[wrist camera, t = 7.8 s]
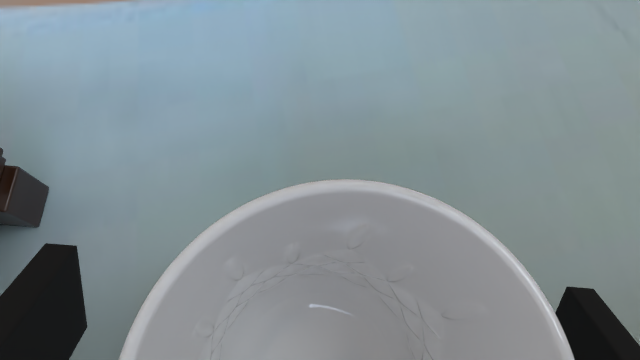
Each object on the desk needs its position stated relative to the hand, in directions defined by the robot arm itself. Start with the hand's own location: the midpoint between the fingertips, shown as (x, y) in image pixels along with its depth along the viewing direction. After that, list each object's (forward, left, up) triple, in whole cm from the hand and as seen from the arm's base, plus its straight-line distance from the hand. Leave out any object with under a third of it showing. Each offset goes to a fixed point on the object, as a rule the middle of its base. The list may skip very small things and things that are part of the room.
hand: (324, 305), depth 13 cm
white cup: (0, +2, -5) cm, 6 cm away
